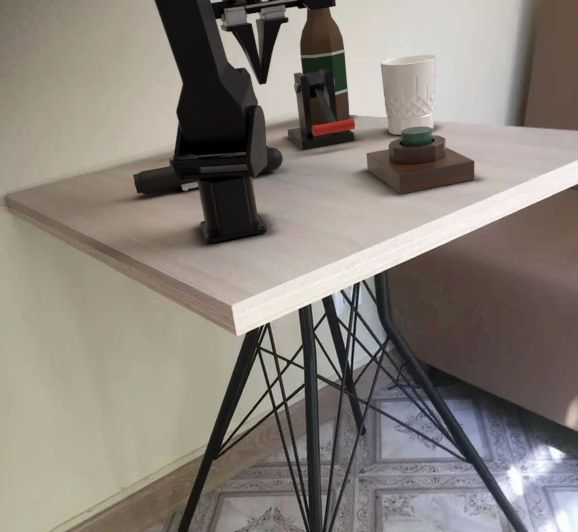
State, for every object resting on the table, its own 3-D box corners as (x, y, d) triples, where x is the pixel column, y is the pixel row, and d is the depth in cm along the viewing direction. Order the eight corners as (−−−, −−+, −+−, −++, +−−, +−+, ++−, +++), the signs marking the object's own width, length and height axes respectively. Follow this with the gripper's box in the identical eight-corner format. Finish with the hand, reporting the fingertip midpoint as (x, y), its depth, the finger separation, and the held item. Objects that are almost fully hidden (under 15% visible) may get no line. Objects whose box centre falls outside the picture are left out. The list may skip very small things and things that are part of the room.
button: (437, 145, 81) (436, 130, 81) (408, 150, 81) (407, 135, 80) (425, 139, 85) (424, 124, 84) (397, 144, 84) (396, 130, 83)
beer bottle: (357, 113, 121) (345, -43, 110) (342, 124, 115) (327, -41, 104) (316, 115, 125) (300, -37, 113) (299, 125, 119) (280, -34, 107)
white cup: (425, 136, 101) (423, 63, 96) (376, 136, 105) (371, 65, 100) (445, 123, 106) (443, 53, 101) (397, 123, 110) (394, 56, 105)
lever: (354, 133, 100) (355, 120, 98) (314, 141, 99) (314, 127, 97) (330, 82, 106) (331, 69, 104) (292, 89, 106) (292, 75, 104)
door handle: (129, 158, 102) (132, 176, 88) (260, 134, 105) (285, 148, 91) (134, 180, 104) (138, 202, 89) (264, 156, 107) (288, 173, 92)
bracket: (354, 140, 104) (348, 71, 100) (302, 149, 103) (294, 80, 99) (335, 128, 113) (330, 64, 108) (288, 137, 112) (280, 73, 107)
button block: (474, 179, 80) (474, 144, 78) (400, 194, 79) (398, 159, 77) (433, 157, 90) (432, 126, 88) (367, 170, 89) (365, 138, 87)
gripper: (305, -71, 85) (319, 65, 93) (154, -49, 83) (181, 88, 90) (330, -78, 75) (343, 74, 83) (159, -54, 73) (189, 100, 81)
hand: (262, 83), depth 84 cm, fingers closed
